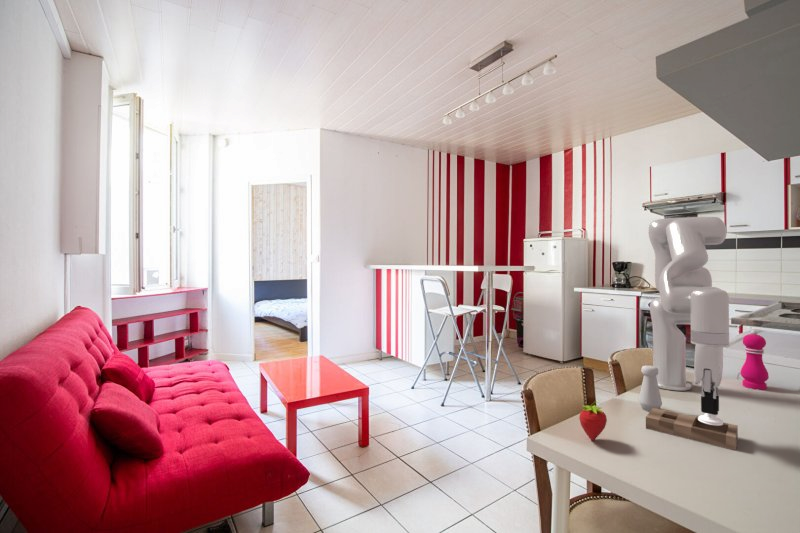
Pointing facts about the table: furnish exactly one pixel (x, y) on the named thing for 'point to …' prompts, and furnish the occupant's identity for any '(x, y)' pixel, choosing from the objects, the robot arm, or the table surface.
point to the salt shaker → (650, 389)
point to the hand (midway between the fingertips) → (710, 411)
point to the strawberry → (592, 421)
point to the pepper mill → (754, 362)
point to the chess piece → (710, 419)
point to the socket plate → (692, 428)
